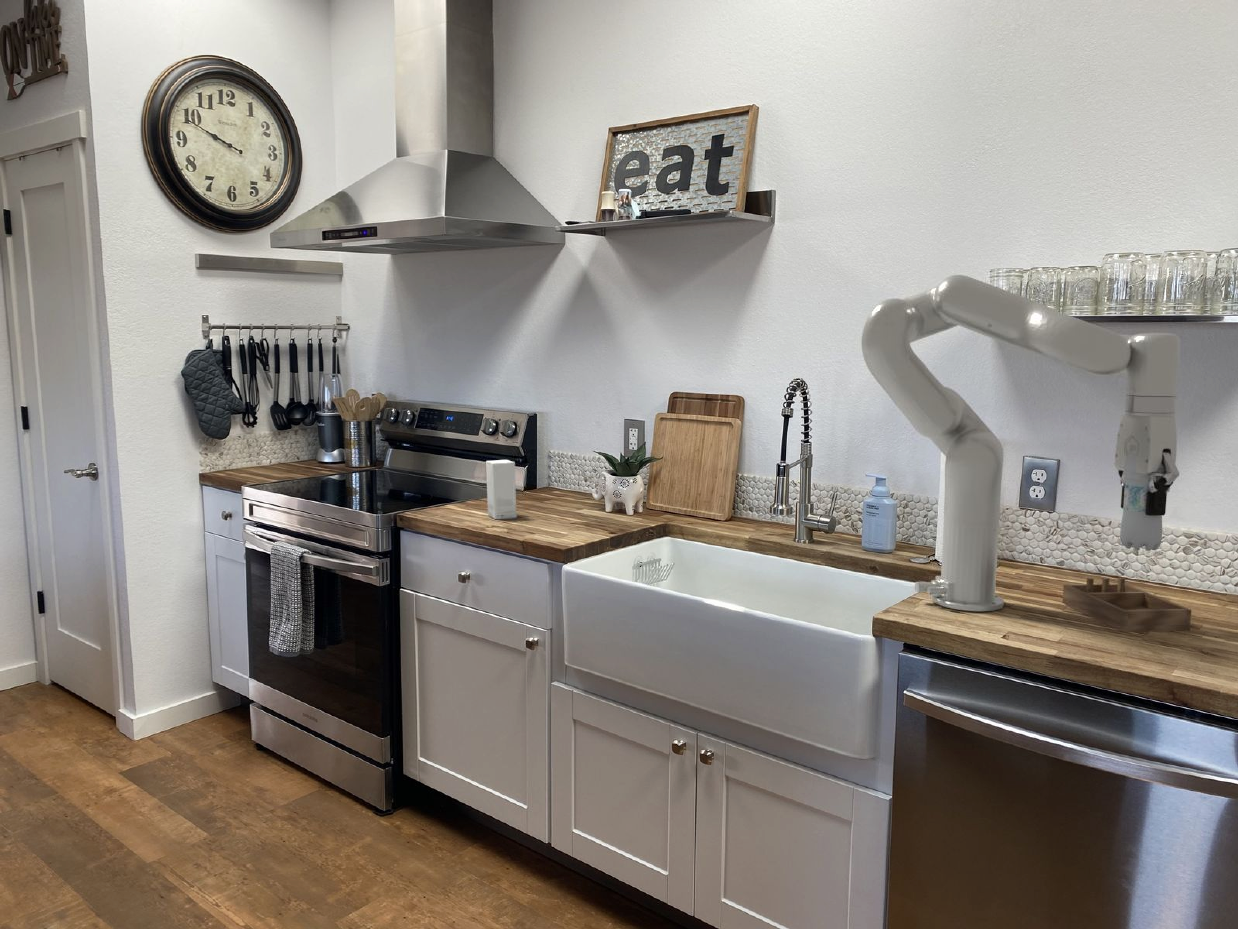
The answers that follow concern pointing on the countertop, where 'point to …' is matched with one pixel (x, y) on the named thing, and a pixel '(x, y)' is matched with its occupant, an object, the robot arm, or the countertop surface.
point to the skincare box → (501, 489)
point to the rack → (1126, 607)
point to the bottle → (1138, 510)
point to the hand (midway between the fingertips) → (1142, 510)
